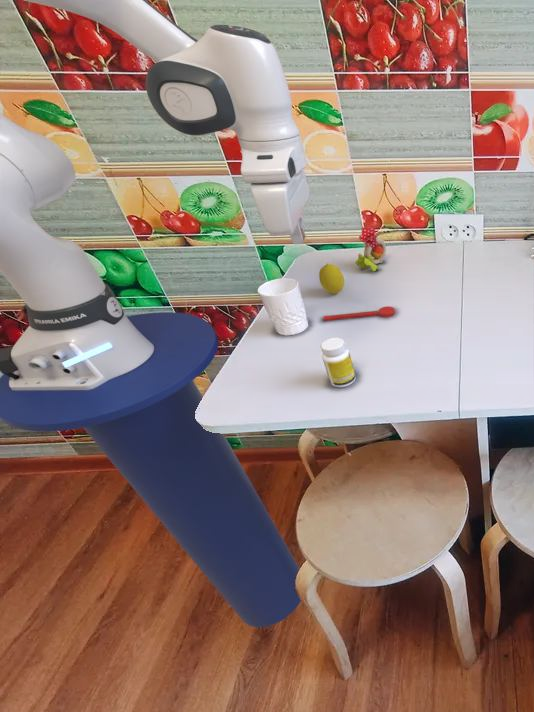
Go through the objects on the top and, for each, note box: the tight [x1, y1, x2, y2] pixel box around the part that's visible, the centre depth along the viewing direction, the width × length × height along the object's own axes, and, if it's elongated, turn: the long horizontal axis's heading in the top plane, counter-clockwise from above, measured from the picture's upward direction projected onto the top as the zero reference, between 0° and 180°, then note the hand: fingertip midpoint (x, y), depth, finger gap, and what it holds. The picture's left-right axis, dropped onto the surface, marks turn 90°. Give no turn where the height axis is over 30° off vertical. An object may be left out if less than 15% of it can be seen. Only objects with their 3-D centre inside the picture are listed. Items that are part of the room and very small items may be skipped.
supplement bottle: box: [320, 337, 357, 388], centre depth 85 cm, size 5×5×8 cm
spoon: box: [322, 305, 396, 322], centre depth 106 cm, size 16×4×1 cm, turn 101°
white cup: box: [257, 277, 309, 336], centre depth 100 cm, size 8×8×10 cm
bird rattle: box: [354, 227, 387, 272], centre depth 124 cm, size 6×11×9 cm
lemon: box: [318, 263, 345, 295], centre depth 112 cm, size 6×6×8 cm
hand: (299, 241), depth 82 cm, fingers closed
